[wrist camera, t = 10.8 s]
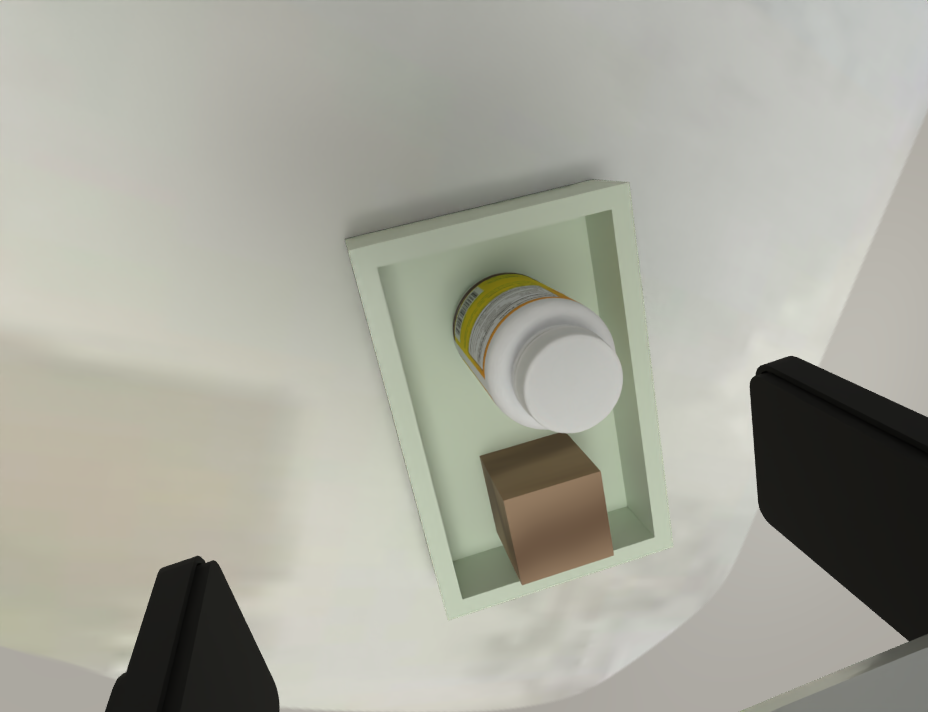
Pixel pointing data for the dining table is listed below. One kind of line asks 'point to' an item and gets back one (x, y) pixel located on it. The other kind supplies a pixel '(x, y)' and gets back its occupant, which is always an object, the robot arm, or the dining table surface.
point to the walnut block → (547, 506)
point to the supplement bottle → (538, 353)
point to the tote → (467, 402)
